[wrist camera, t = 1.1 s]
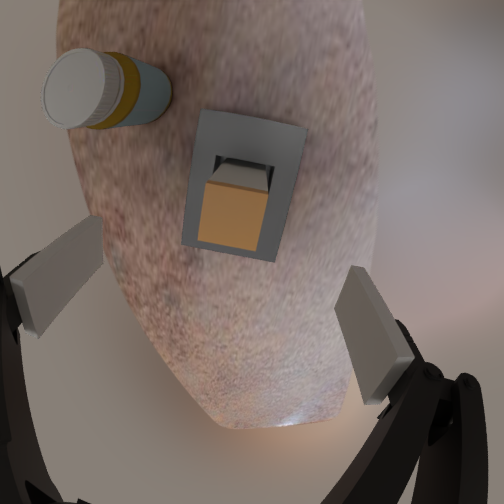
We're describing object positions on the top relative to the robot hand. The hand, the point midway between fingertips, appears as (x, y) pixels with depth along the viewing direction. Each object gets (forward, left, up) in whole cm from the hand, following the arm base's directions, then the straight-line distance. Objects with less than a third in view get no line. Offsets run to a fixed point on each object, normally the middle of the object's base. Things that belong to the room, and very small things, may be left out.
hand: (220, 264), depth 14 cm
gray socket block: (0, 0, -20) cm, 20 cm away
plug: (0, 0, -19) cm, 19 cm away
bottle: (-8, -13, -20) cm, 26 cm away
